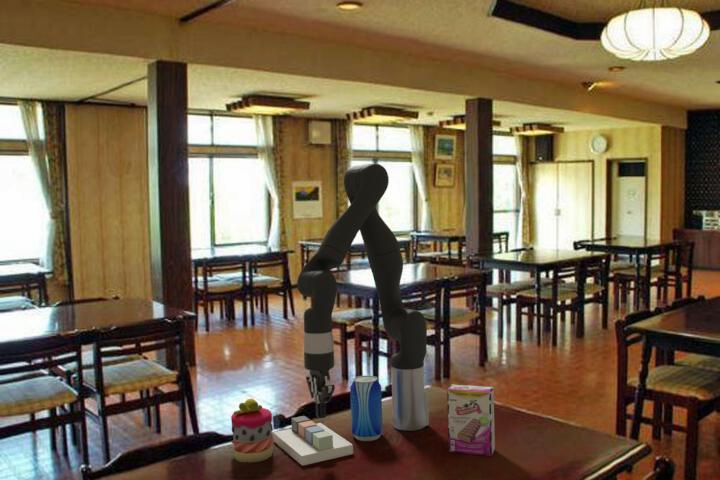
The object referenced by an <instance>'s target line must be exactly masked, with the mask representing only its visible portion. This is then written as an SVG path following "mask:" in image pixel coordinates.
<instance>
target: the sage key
mask: <svg viewBox="0 0 720 480" xmlns="http://www.w3.org/2000/svg"><path fill="white" fill-rule="evenodd" d="M313 447H314V448H315V449H316V450H318V451H322V450H327V449H331V448H333V435H332V434H330V433H329V432H327V431H323V432H318V433H313Z"/></svg>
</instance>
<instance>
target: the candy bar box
mask: <svg viewBox="0 0 720 480" xmlns="http://www.w3.org/2000/svg"><path fill="white" fill-rule="evenodd" d="M446 396H447V397H446V398H447V438H448V439H447V440H448V445H447V446H448V448H447V449H448V452H449V453H455V454H465V455H466V454H467V455H477V456H487V457H493V454H494V452H495V450H496V449H495V448H496V440H495V438H496V437H495V389H494V386H493V387H492V386H483V385H482V386H480V385H465V384H450V385H449V386H448V387H447V390H446Z"/></svg>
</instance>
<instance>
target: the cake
mask: <svg viewBox="0 0 720 480" xmlns="http://www.w3.org/2000/svg"><path fill="white" fill-rule="evenodd" d="M238 408H239V410H235V411H233V413H232V414H231V416H230V417H231V419H230V422H231V433H232V437H233V440H231V444H233V445H234V446H233V459H234V460H236V461H237V462H240V463H246V462H248V463H258V462H263V461H265V460H268V459H269V457H270V458H271V457H272V456H273V454H274V453H273V444H274V443H275V442H274V437H273V432H274V431H273V430H274V428H273V425H272V422H273V415H272V411H271V410H270V409H269V408H268V409H267V408H264V407H263V406H262V405H261V404H259V403H258V401H256V400H255V399H253V398H248V399H246V400H245V401H244V402H240V403H239V405H238Z"/></svg>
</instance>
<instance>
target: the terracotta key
mask: <svg viewBox="0 0 720 480" xmlns="http://www.w3.org/2000/svg"><path fill="white" fill-rule="evenodd" d="M314 426H317V423H315V422H314V421H313V420H310V421H306V422H301V423H298V431H299V437H301V438H302V439H303V440H305V439H306V435H305V428H309V427H314Z"/></svg>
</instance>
